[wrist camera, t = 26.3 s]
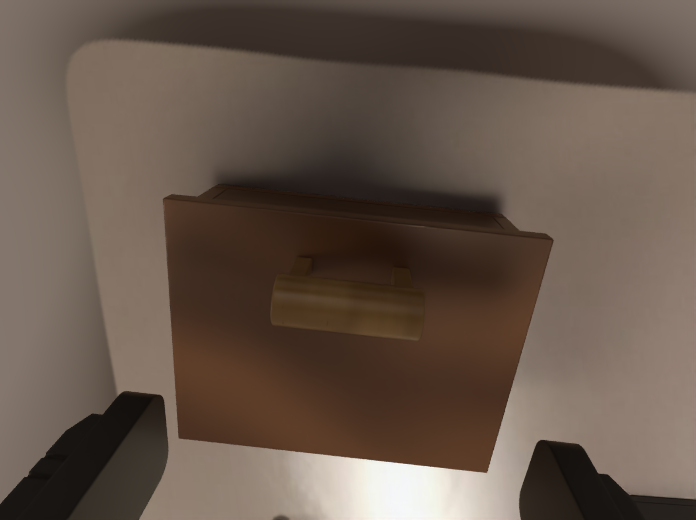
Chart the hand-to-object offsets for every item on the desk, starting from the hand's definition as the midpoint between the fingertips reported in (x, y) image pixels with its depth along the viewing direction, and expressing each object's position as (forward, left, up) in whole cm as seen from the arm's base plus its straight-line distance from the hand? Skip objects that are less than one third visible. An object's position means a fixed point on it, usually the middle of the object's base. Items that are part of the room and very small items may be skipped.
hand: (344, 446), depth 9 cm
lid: (+3, +3, -10) cm, 11 cm away
